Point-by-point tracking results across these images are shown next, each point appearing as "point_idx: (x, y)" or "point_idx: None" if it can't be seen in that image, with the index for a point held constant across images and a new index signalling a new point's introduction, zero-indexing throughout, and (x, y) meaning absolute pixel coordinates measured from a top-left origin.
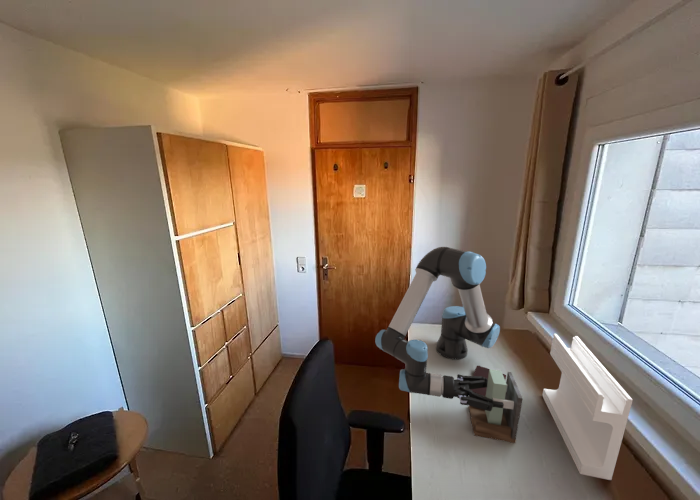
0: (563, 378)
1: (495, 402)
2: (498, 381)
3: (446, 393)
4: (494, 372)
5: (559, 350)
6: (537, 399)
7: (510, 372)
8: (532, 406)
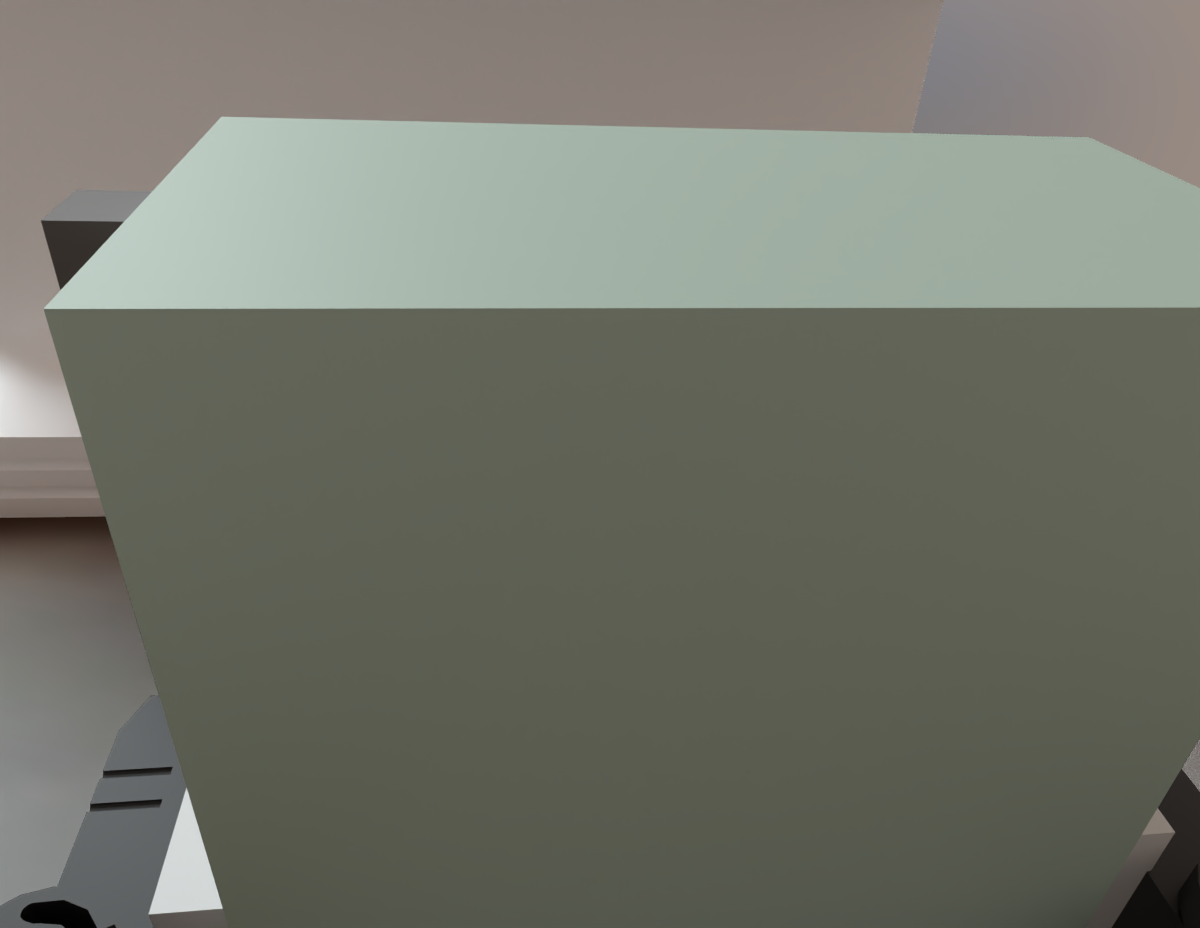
0: (3, 187)
1: (1161, 811)
2: (1082, 216)
3: None
4: (403, 217)
5: None
6: (18, 561)
7: (85, 198)
8: (134, 619)
